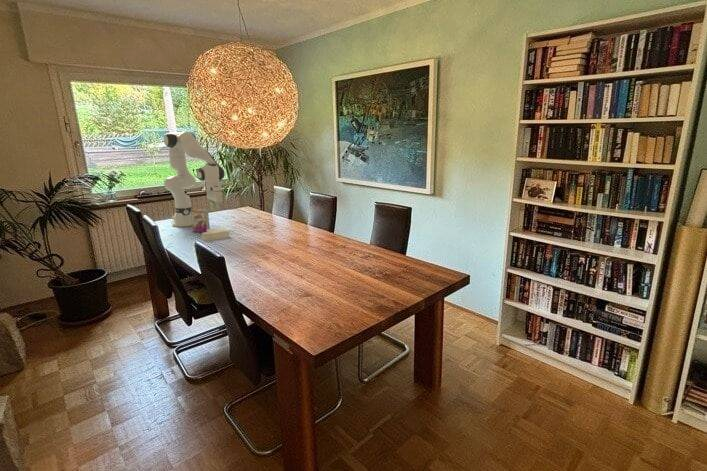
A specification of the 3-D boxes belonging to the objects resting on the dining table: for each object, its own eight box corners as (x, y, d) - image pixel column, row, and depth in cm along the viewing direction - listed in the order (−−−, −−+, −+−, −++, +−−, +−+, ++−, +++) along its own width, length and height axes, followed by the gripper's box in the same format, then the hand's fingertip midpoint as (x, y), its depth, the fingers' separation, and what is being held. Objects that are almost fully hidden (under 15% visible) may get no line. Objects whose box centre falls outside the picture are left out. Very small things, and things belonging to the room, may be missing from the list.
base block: (207, 236, 255) (206, 229, 254) (223, 233, 262) (223, 227, 261) (212, 240, 246) (211, 233, 245) (229, 237, 253) (229, 230, 252)
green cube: (210, 209, 249) (209, 202, 248) (217, 208, 252) (217, 201, 251) (213, 210, 245) (212, 203, 244) (220, 209, 248) (219, 202, 247)
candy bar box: (192, 232, 264) (190, 210, 259) (196, 230, 269) (193, 209, 264) (207, 232, 263) (204, 210, 258) (210, 231, 268) (208, 209, 263)
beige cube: (202, 239, 246) (201, 232, 244) (209, 238, 249) (209, 231, 248) (204, 241, 242) (204, 234, 241) (212, 240, 245) (211, 233, 244)
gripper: (203, 185, 250) (205, 205, 254) (213, 189, 235) (215, 209, 239) (212, 185, 254) (214, 204, 258) (223, 188, 239) (225, 208, 243)
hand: (215, 207), depth 248 cm, fingers closed on green cube, 5 cm apart
